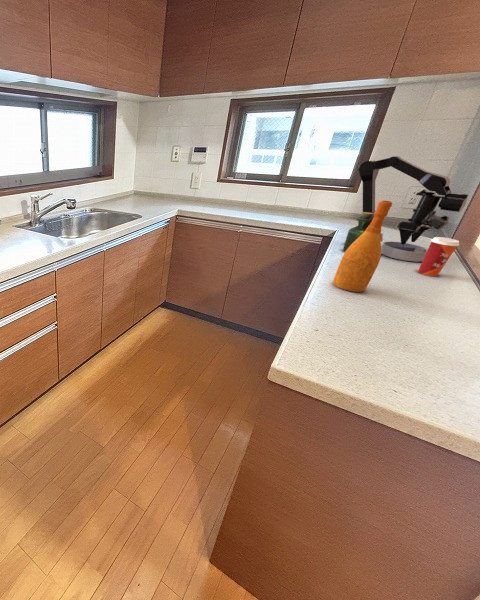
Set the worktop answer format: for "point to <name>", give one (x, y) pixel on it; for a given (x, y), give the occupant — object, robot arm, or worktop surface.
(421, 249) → the rod
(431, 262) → the paper cup
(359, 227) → the potion bottle
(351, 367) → the worktop surface
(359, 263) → the wine bottle
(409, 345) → the worktop surface
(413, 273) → the worktop surface
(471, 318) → the worktop surface
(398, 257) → the dish
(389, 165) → the robot arm
